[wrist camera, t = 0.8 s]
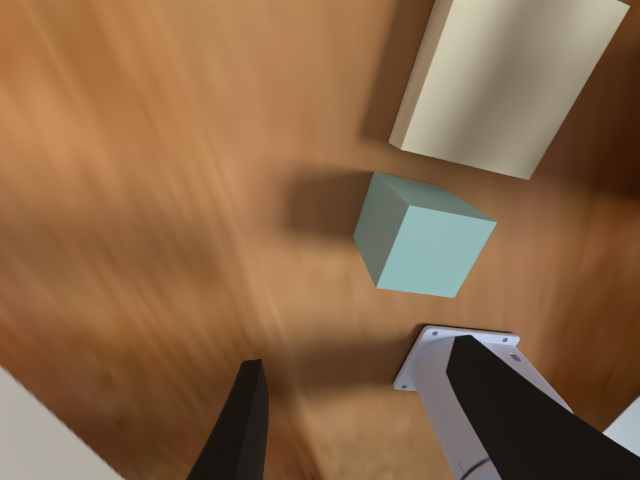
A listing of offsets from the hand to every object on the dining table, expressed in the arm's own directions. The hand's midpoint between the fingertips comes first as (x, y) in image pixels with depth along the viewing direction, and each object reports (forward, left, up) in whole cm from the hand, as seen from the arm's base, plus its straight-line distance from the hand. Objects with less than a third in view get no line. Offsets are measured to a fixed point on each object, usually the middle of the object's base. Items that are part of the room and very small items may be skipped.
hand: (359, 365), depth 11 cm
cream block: (-6, -11, -10) cm, 16 cm away
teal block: (-4, -3, -10) cm, 11 cm away
